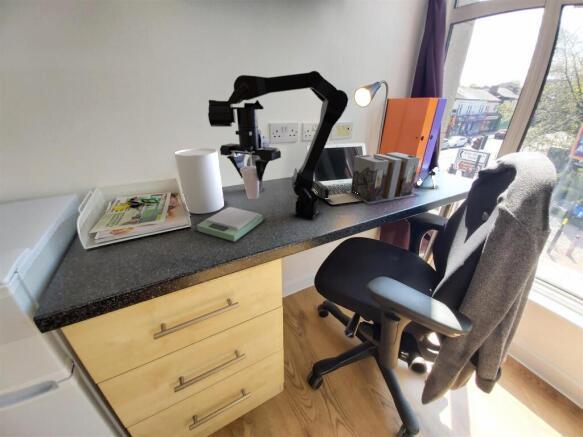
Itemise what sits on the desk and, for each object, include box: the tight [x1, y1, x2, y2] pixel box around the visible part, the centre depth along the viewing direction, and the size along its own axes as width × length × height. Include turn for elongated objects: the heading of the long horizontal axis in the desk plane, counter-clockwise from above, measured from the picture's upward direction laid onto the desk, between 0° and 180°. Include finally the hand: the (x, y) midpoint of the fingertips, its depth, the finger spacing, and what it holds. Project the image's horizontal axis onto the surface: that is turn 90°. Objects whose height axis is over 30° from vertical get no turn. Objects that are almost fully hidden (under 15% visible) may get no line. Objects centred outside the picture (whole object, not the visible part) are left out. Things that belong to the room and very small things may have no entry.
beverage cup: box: [246, 155, 264, 193], centre depth 101 cm, size 7×7×20 cm
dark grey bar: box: [313, 180, 332, 202], centre depth 98 cm, size 5×3×15 cm
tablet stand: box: [415, 167, 439, 190], centre depth 109 cm, size 9×8×8 cm
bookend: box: [345, 151, 421, 205], centre depth 98 cm, size 16×25×16 cm, turn 113°
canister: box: [174, 147, 225, 215], centre depth 84 cm, size 14×14×20 cm
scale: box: [196, 206, 264, 243], centre depth 74 cm, size 14×15×3 cm
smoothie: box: [240, 154, 260, 200], centre depth 74 cm, size 6×6×14 cm
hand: (251, 179), depth 75 cm, fingers closed on smoothie, 6 cm apart
